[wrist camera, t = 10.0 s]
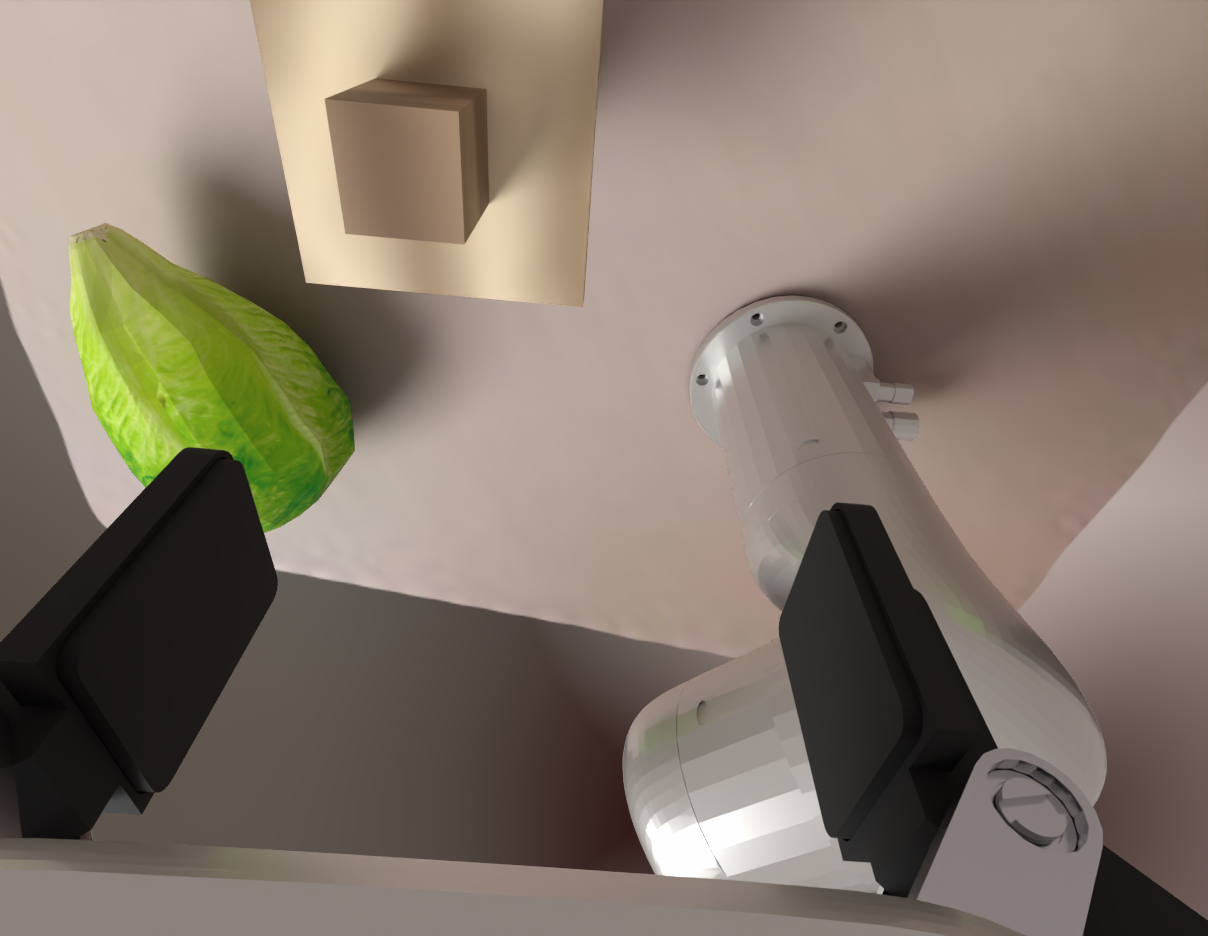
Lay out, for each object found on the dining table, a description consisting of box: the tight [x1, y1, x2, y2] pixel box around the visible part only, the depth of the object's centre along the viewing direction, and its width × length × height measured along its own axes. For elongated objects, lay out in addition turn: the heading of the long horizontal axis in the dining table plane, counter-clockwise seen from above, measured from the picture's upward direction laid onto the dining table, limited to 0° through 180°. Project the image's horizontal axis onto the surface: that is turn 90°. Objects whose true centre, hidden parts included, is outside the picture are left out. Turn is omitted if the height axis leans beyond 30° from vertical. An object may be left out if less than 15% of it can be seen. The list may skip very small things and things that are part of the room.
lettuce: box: [69, 223, 355, 533], centre depth 41 cm, size 14×20×12 cm
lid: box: [250, 0, 604, 307], centre depth 23 cm, size 12×12×6 cm
